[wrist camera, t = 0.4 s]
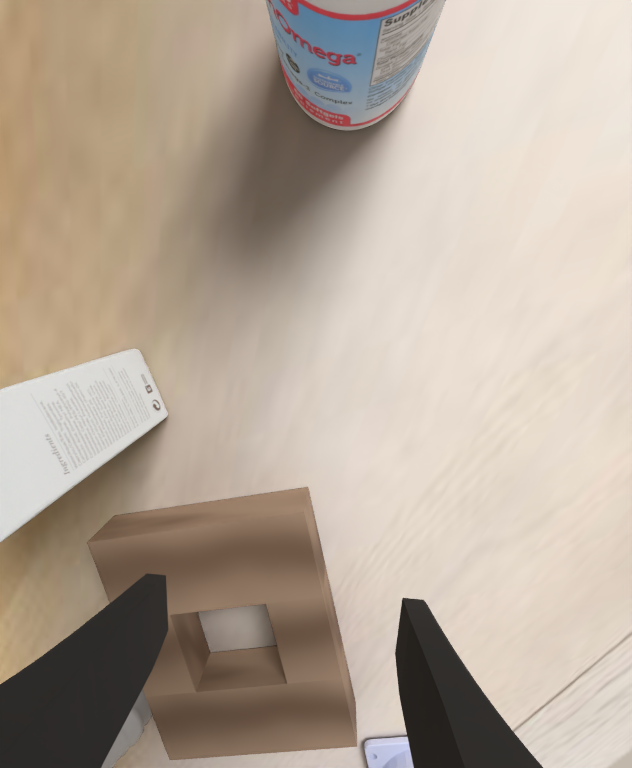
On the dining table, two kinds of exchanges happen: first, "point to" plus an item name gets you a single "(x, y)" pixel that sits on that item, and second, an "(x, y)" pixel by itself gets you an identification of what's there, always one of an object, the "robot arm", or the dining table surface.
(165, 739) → the socket board
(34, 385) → the skincare box
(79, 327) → the dining table surface
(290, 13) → the pill bottle
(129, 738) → the rook chess piece
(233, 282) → the dining table surface
